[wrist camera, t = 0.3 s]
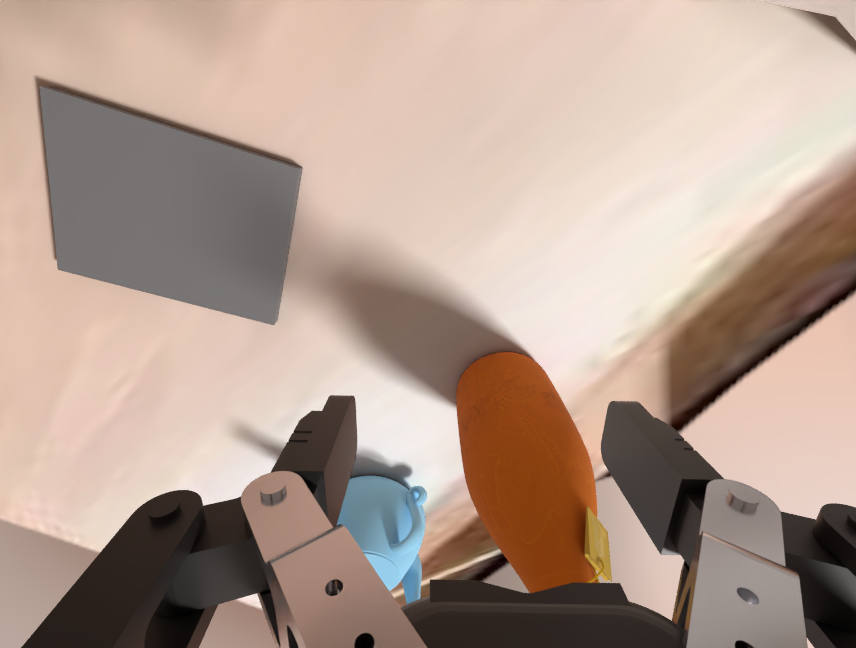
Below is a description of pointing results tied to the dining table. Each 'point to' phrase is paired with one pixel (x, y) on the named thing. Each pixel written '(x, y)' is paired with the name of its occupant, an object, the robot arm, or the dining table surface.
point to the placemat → (167, 208)
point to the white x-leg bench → (826, 10)
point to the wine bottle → (530, 473)
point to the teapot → (387, 528)
